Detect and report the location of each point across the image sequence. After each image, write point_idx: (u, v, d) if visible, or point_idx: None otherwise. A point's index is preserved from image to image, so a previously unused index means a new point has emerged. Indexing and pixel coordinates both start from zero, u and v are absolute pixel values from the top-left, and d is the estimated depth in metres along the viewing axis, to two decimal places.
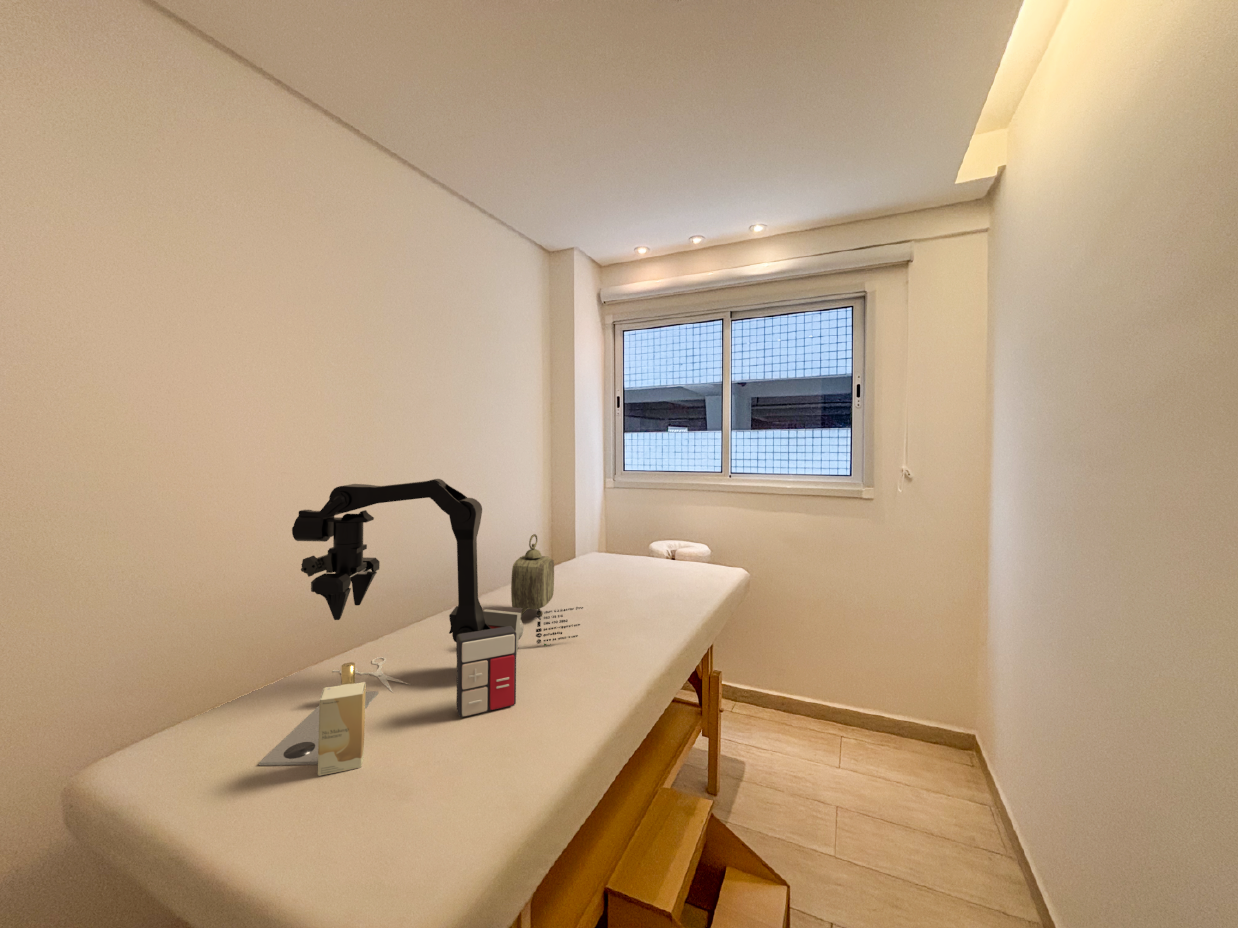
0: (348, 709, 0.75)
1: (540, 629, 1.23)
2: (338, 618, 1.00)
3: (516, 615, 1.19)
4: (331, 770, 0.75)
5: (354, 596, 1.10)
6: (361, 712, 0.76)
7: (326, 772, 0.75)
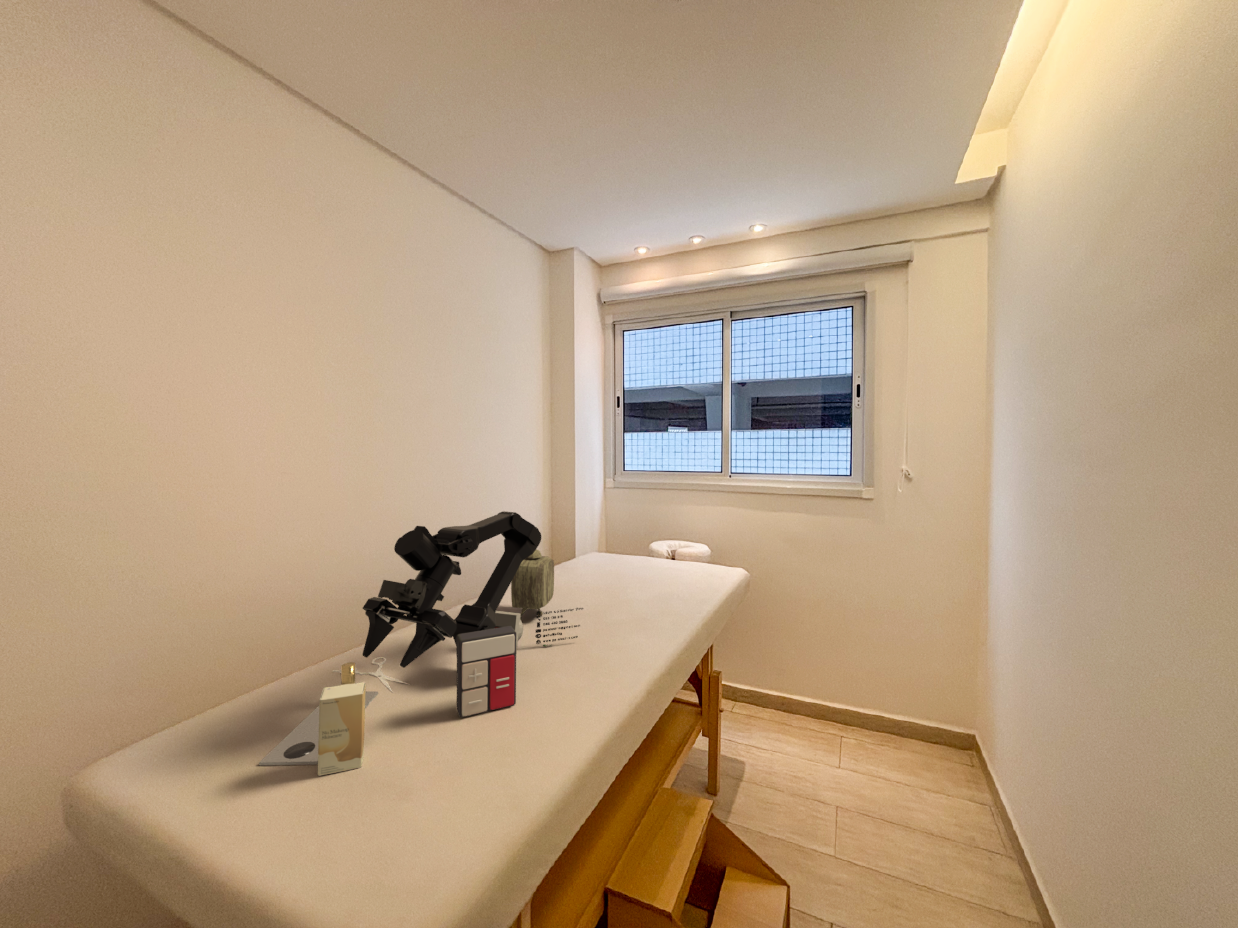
0: (348, 709, 0.75)
1: (540, 630, 1.22)
2: (405, 665, 0.83)
3: (515, 616, 1.19)
4: (331, 770, 0.75)
5: (368, 643, 0.87)
6: (361, 712, 0.76)
7: (326, 772, 0.75)
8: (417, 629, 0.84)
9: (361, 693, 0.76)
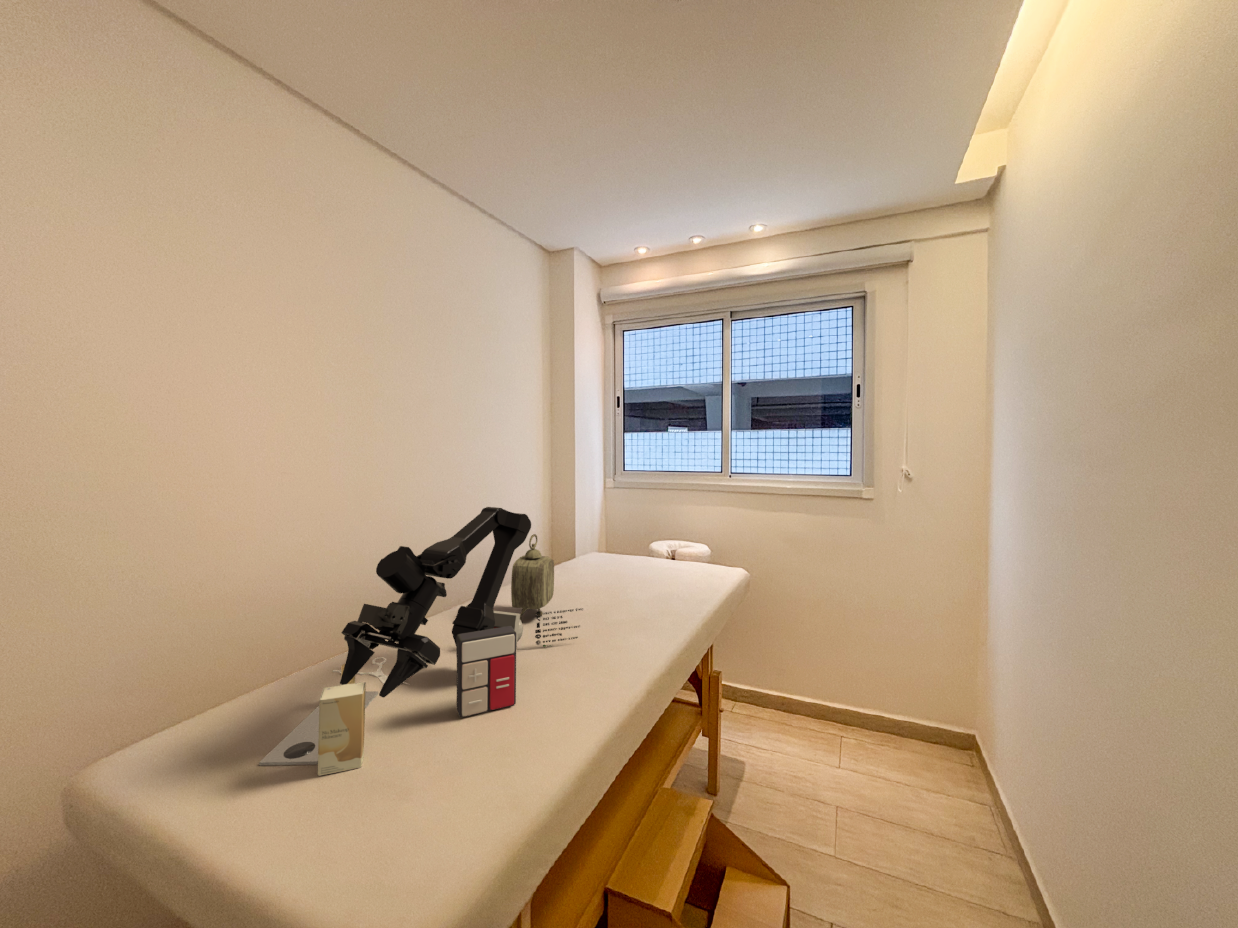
0: (348, 709, 0.75)
1: None
2: (385, 695, 0.79)
3: (515, 616, 1.19)
4: (331, 770, 0.75)
5: (347, 671, 0.83)
6: (361, 712, 0.76)
7: (326, 772, 0.75)
8: (398, 656, 0.80)
9: (361, 693, 0.76)
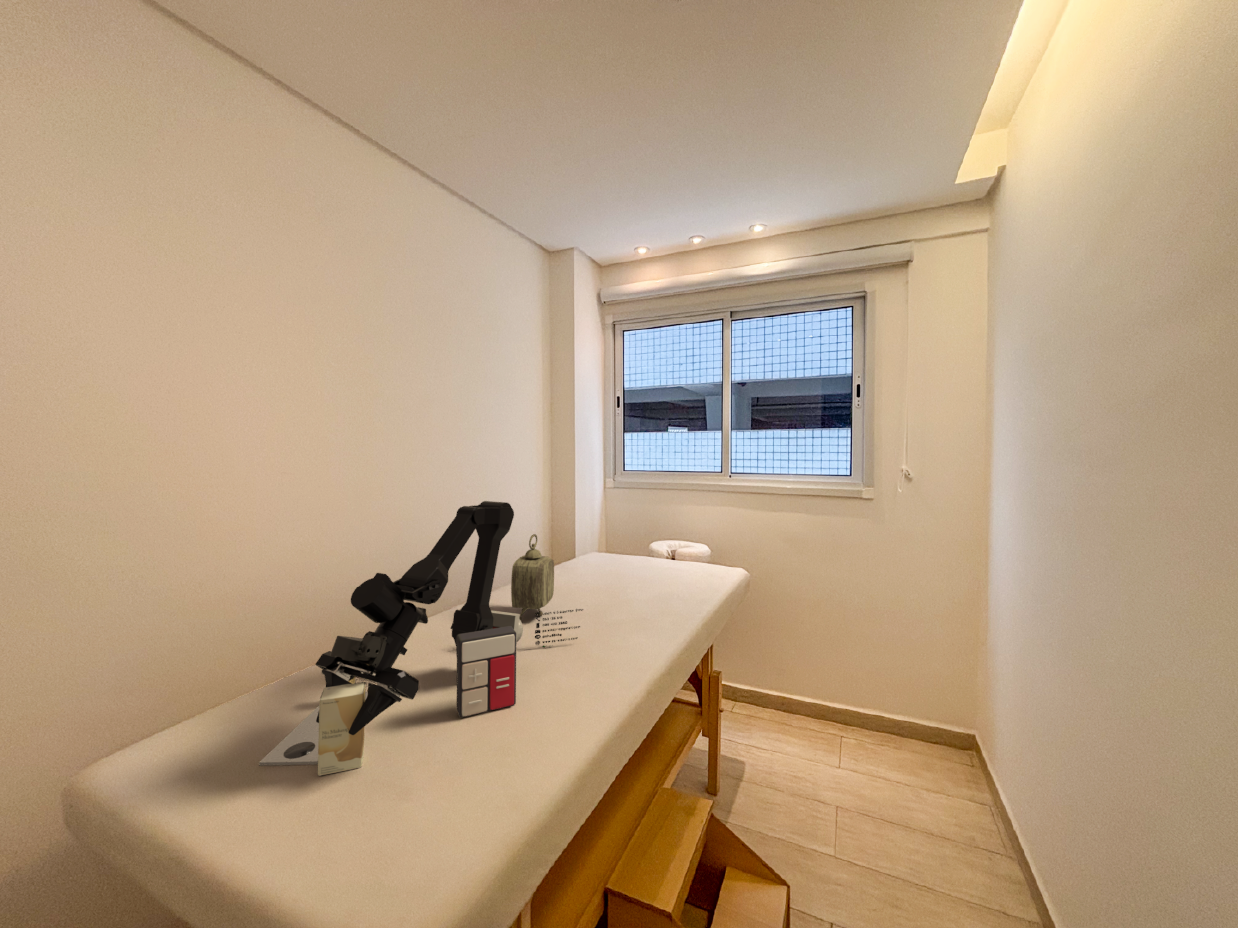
0: (348, 709, 0.75)
1: None
2: (355, 733, 0.75)
3: (514, 616, 1.18)
4: (331, 770, 0.75)
5: None
6: None
7: (326, 772, 0.75)
8: (369, 691, 0.76)
9: (361, 693, 0.76)
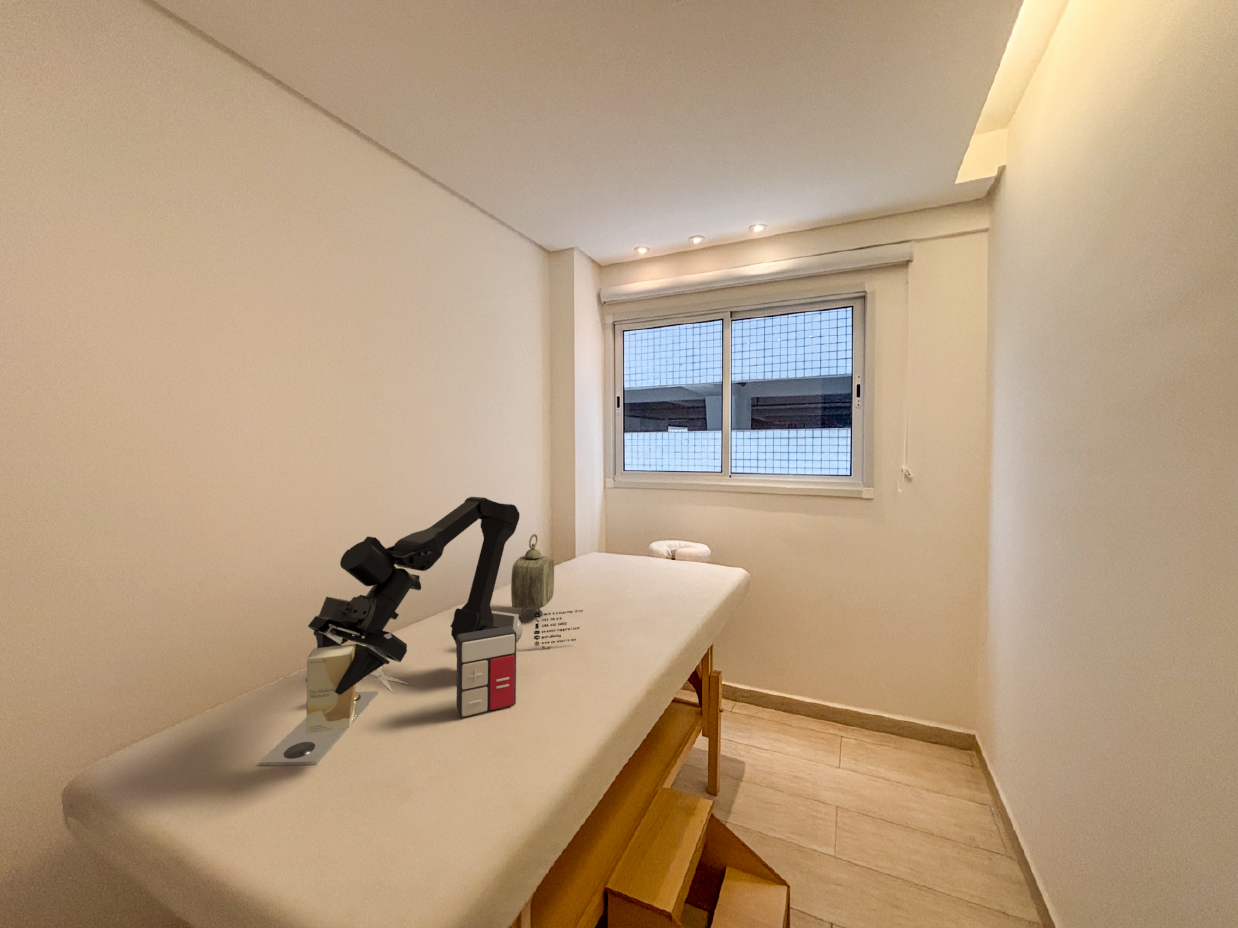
0: (336, 669, 0.76)
1: (538, 631, 1.21)
2: (342, 692, 0.75)
3: (513, 616, 1.18)
4: (320, 729, 0.75)
5: None
6: None
7: (315, 731, 0.75)
8: (356, 652, 0.76)
9: (349, 654, 0.76)
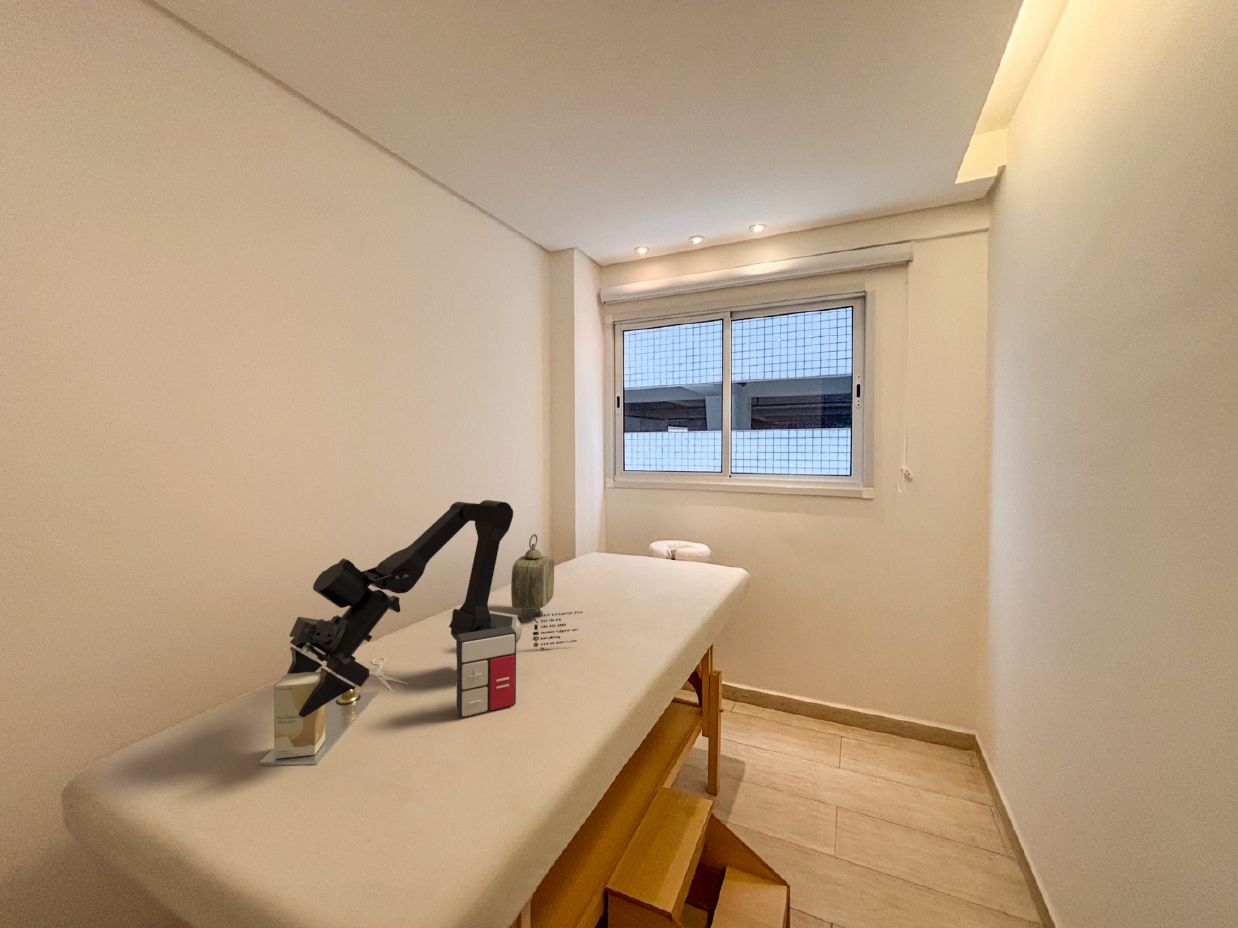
0: (301, 696, 0.78)
1: None
2: (305, 715, 0.76)
3: (512, 617, 1.18)
4: (286, 754, 0.78)
5: None
6: None
7: (282, 756, 0.77)
8: (321, 675, 0.77)
9: (313, 682, 0.78)
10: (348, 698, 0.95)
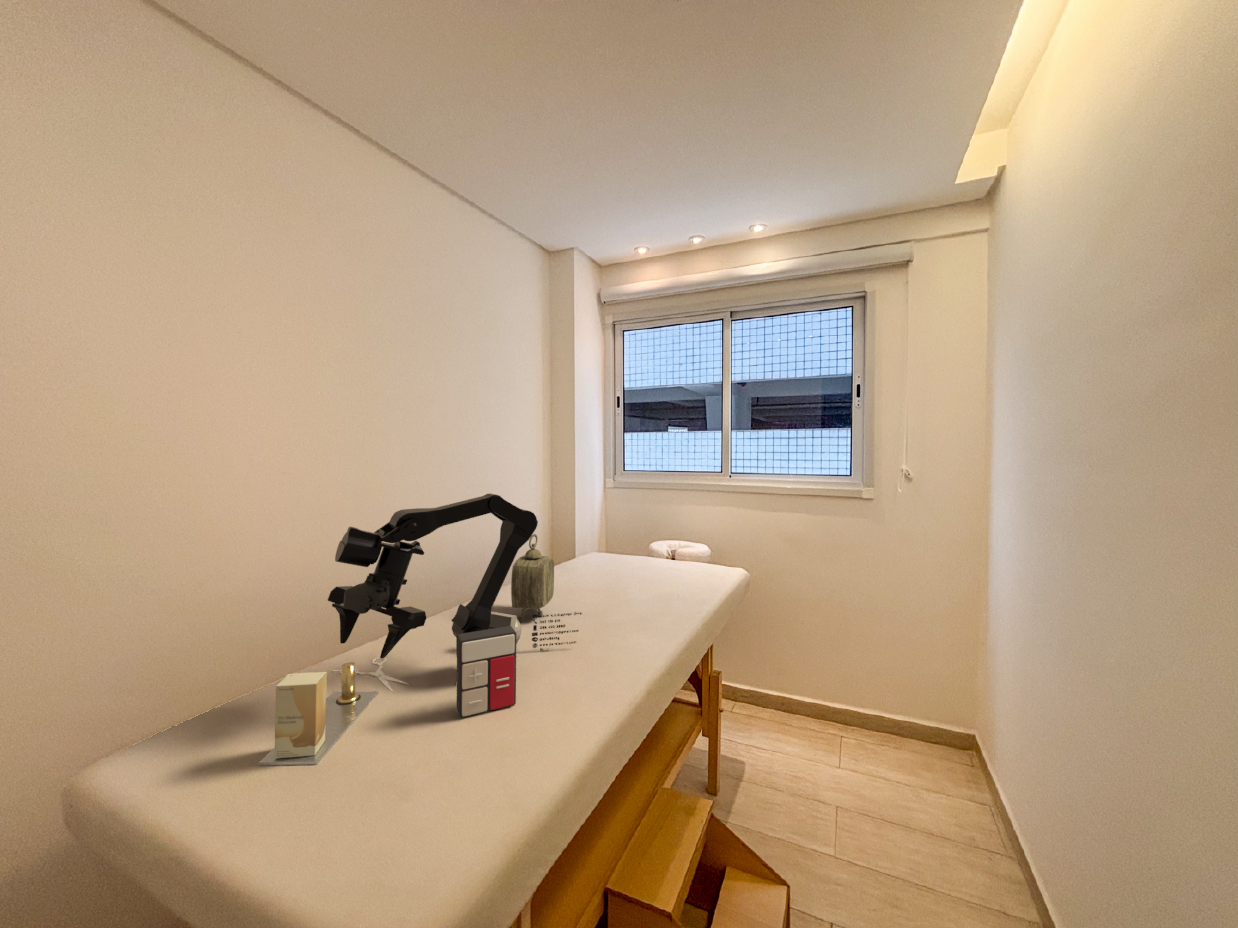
0: (302, 697, 0.78)
1: (536, 633, 1.20)
2: (385, 656, 0.93)
3: (510, 618, 1.17)
4: (286, 754, 0.78)
5: (343, 632, 0.94)
6: (315, 702, 0.78)
7: (282, 756, 0.77)
8: (390, 629, 0.91)
9: (315, 683, 0.78)
10: (348, 698, 0.95)
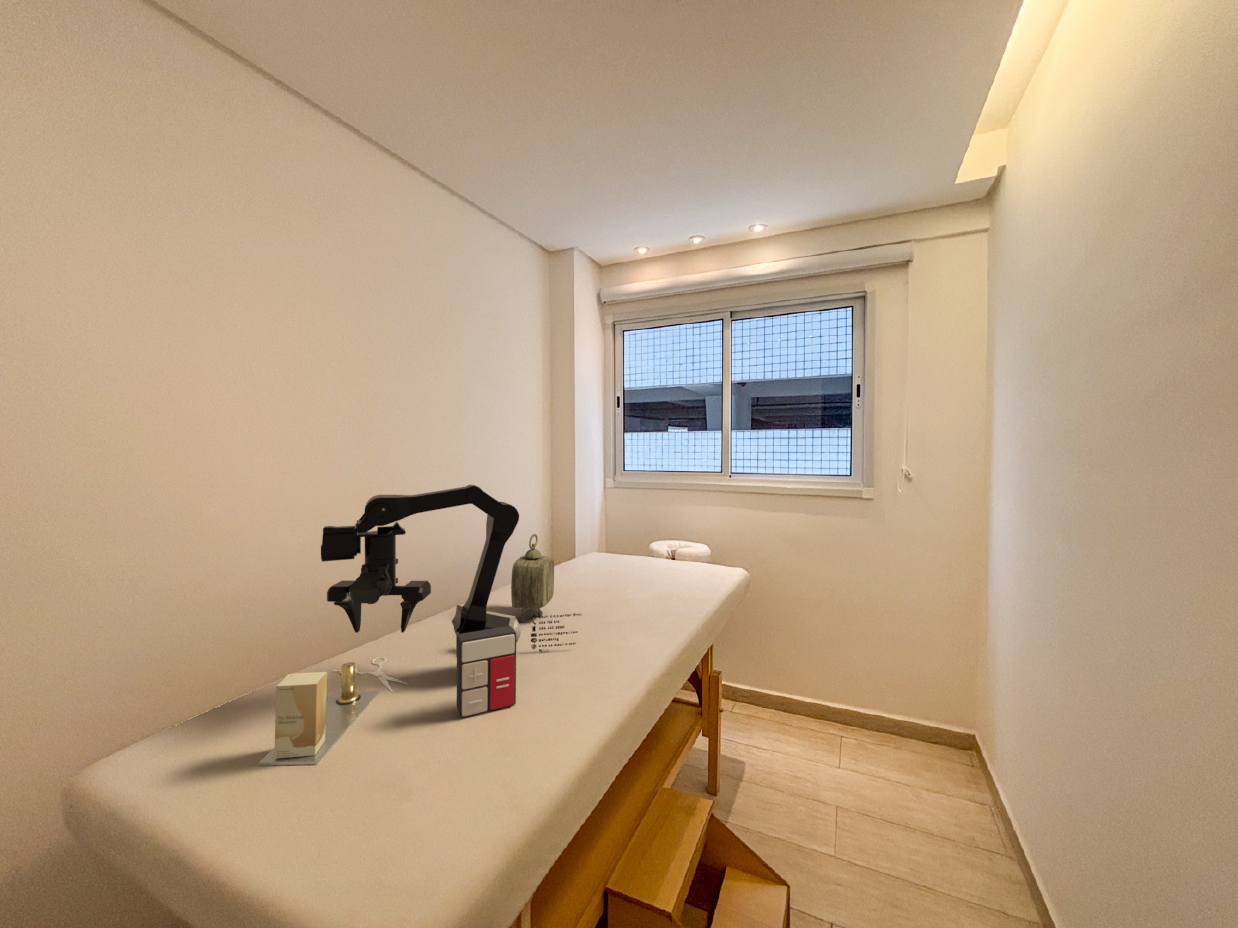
0: (303, 697, 0.78)
1: (535, 634, 1.20)
2: (405, 629, 0.99)
3: (509, 618, 1.17)
4: (286, 754, 0.78)
5: (355, 623, 0.98)
6: (315, 702, 0.78)
7: (282, 756, 0.77)
8: (403, 606, 0.97)
9: (316, 683, 0.78)
10: (348, 698, 0.95)
